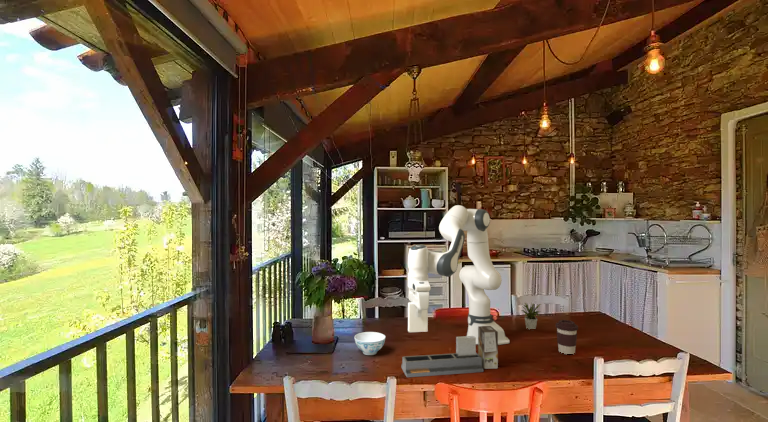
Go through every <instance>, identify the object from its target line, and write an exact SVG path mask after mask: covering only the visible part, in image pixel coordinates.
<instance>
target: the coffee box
mask: <svg viewBox="0 0 768 422" xmlns="http://www.w3.org/2000/svg"><path fill="white" fill-rule="evenodd" d="M498 350H499V345H498V332H497V331H496V330H495V329H494V328H492V327H491V326H478V344H477V354H478V355H480V356H481V357H482V367H483V370H487V369H488V370H489V369H495V370H496V369H498V368H499V367H498V366H499V364H498V363H499V351H498Z"/></svg>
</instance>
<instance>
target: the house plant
mask: <svg viewBox="0 0 768 422" xmlns="http://www.w3.org/2000/svg"><path fill="white" fill-rule="evenodd" d="M534 304H535V303H533V302H530V305H531V306H530V307H529V304H528V303H527V302H526V301H525V302H524V304H523V305H521V306H522V307H521V308H523V309H522V310H521V312H522V313H524V323H525V328H526V329H527V328H528V329H527V330H530V329H535V330H536V329H537V322H538V317H540V312H542V311H540V310H538V308H539V307H540V306H541V305H542V304H541V303H540V304H537V306H536V307H535V308H534ZM537 316H538V317H537Z"/></svg>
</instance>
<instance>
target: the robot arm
mask: <svg viewBox="0 0 768 422" xmlns="http://www.w3.org/2000/svg"><path fill="white" fill-rule="evenodd" d="M490 223H491V216H490V213H489V212H488V211H487V210H486V209H482V208H478V209H477V208H466V207H465V206H463V205H459V204H457V205H454V206H452V207H451V208H450V209H449V210H447V212H446V213H445V215H444V216H443V218H442V219H441V221H440V223H439V226H438V230H439V233H440V234H441V235H440V236H441V237H442V238H444V239H445V240H446V241H448V242H451V243H450V245H449V248H448V250H447V251H445V252H437V251H436V252H435V251H431V250H429V249H428V246H427V245H425V244H415V245H411V246H410V247H409V250H408V254H407V255H408V256H407V268H408V272H407V288H408V295H407V297H408V300H409V302H413V303H414V304H415V306H416V307H417V312H416V314H417V315H416V316H417V317H421V313H422V310H428V311H429V307H430V291H431V289H432V287H431V285H430V282H429V274H431V275H432V274H433V275H438V276H443V277H451V276H453V275H454V274H455V273H456V272H457V270H458V264H459V260H460V256H461V252H462V249H463V248H464V247H463V246H464V243H465V238H466V245H467V246H466V247H467V257H468V258H469V260H471V262H472V263H473V265H467V266H463V267H462V268H461V269H460V271H459V276H458V277H459V280H460V282H461V283H462V284H463V286H464V288H465V291H466V294H467V297H468V313H467V324H468V325H467V326H468V327H467V332H466V336H474V337H476V345H478V326H491V327H492V328H494V329H495V330H496V331H497V332H498V346H500V345H506V344H510V339H509V338H508V337H507V336H506V333H505V331H504V329H503V328H502V327H501V326H500V325H499V324H498V323H496V321H497V319H498V317H497V316H496V315H493V314H491V299H490V298H489V296H488V295H487V293H486V292H485V290H486V291H494V290H498V289H499V288H501V287H500V286H501V284H502V280H503V279H502V276H501V273H499V272H498V270H497V269H496V267H495V266H494V264H493V262H492V258H491V256H490V246H489V235H488V234H489V233H488V227H489V226H490V225H491V224H490ZM464 231H465V232H466V234H465V232H464ZM465 235H466V236H465Z"/></svg>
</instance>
